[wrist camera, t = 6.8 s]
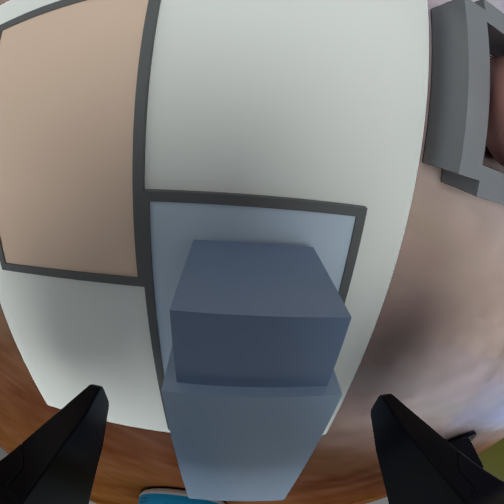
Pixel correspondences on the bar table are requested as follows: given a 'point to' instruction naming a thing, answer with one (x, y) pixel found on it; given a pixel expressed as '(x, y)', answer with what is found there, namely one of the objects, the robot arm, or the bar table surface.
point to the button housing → (463, 95)
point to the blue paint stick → (251, 367)
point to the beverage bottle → (170, 497)
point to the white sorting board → (194, 167)
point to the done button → (496, 110)
